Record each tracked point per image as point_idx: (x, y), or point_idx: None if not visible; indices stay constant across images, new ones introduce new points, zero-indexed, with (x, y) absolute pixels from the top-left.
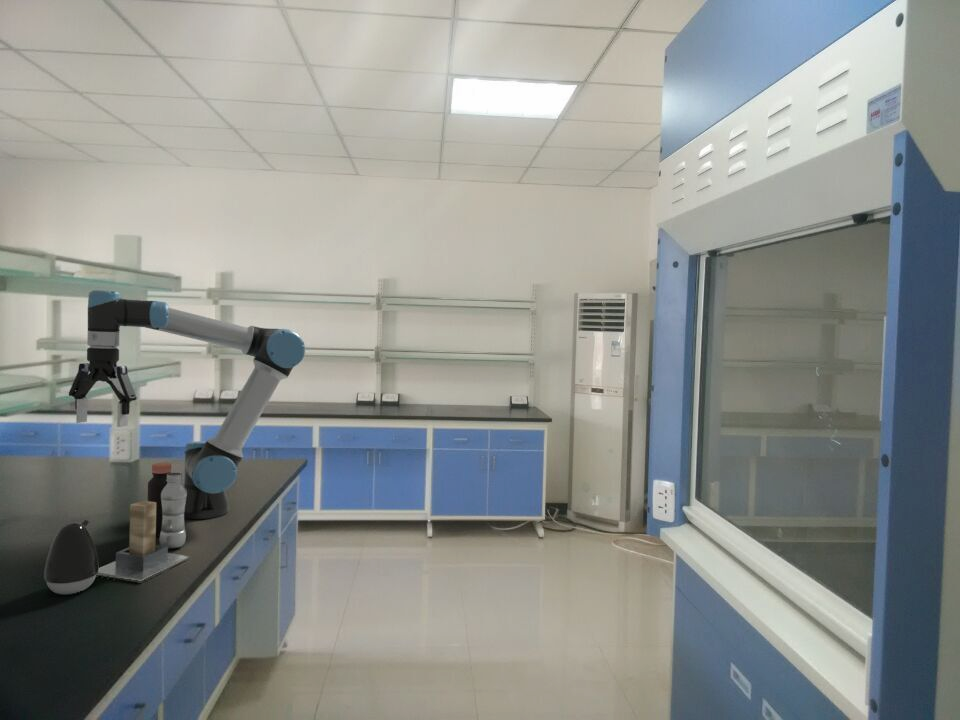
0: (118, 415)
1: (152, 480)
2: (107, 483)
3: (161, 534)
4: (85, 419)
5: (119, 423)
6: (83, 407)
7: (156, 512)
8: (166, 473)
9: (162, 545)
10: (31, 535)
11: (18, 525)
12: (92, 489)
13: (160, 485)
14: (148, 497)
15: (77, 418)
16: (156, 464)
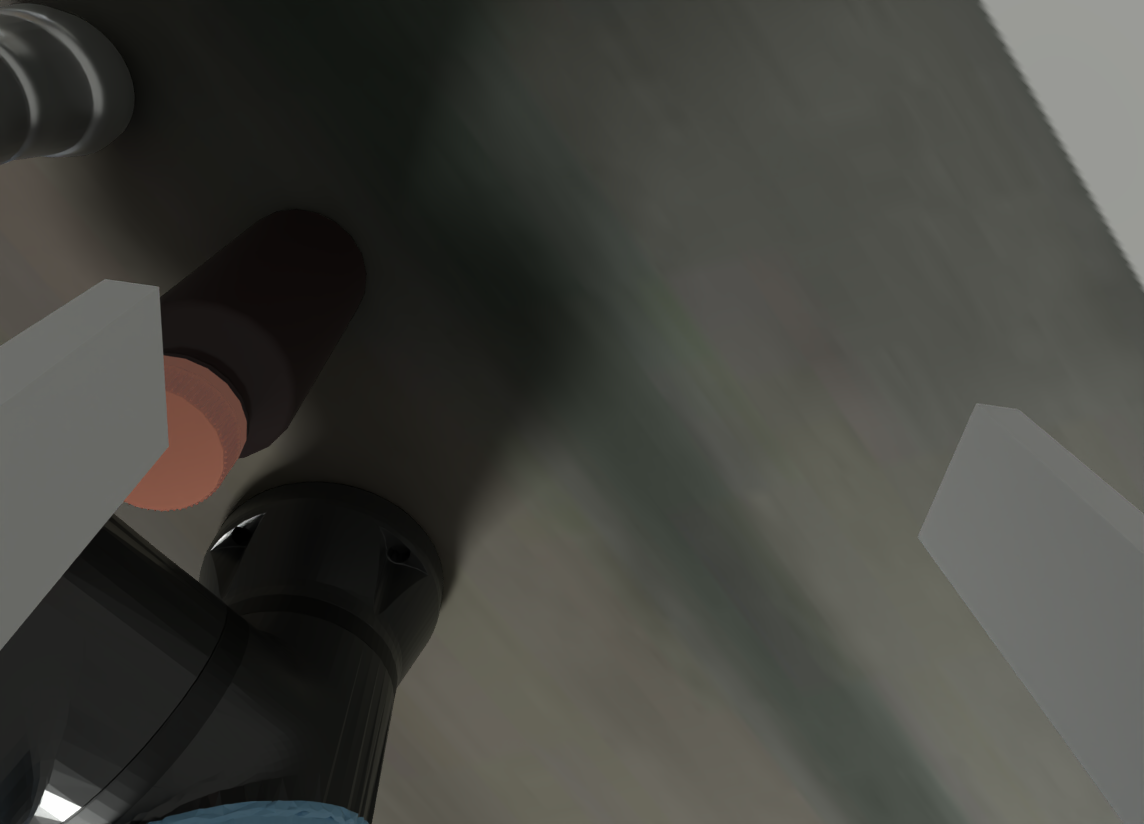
0: (14, 373)
1: (218, 335)
2: (979, 800)
3: (54, 24)
4: (945, 538)
5: (75, 303)
6: (1089, 651)
7: (237, 244)
8: None
9: (71, 14)
10: (904, 93)
11: (1052, 222)
12: (997, 727)
13: None
14: (277, 283)
15: (1039, 442)
16: (182, 432)
